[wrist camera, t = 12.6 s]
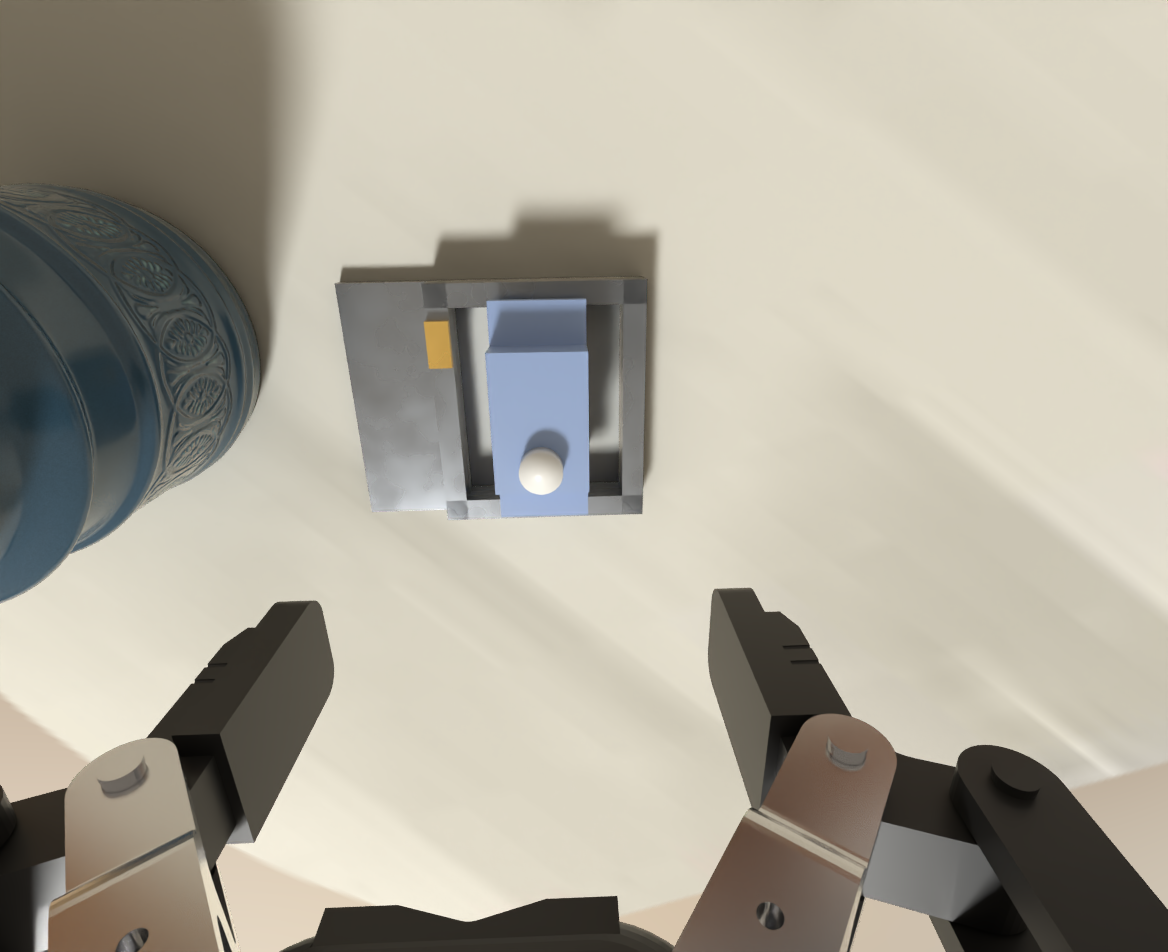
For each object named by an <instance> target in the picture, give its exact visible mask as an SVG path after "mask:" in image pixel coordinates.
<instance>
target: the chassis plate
mask: <svg viewBox="0 0 1168 952" xmlns="http://www.w3.org/2000/svg"><path fill="white" fill-rule="evenodd" d="M335 288H336V294H337V300H338V306H339V313H340V319H341V325H342V331H343V337H344V343H345V349H346V355H347V361H348V367H349V374H350V380H351V386H352V392H353V398H354V404H355V410H356V416H357V422H358V429H359V435H360V441H361V447H362V453H363V459H364V465H365V471H366V477H367V484H368V490H369V496H370V502H371V508H372V512H385V511H417V510H447V516H448V520H461V519H492V518H524V517H555V516H520V517H501V505H500V495H495V485H486V486H472V483H471V473H470V462H469V451H468V441H467V430H466V419H465V409H464V398H463V388H462V377H461V366H460V356H459V345H458V334H457V324H456V313H455V308H471V307H487V302H486V301H487V300H507V299H572V298H586V305H608V304H620V335H619V482H589V492H588V515H618V514H642V504H643V457H644V409H645V362H646V314H647V279H646V278H644V277H642V276H627V277H579V278H530V279H482V280H433V281H385V282H339V283H335ZM559 516H587V515H559Z"/></svg>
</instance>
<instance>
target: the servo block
mask: <svg viewBox="0 0 1168 952" xmlns="http://www.w3.org/2000/svg"><path fill="white" fill-rule="evenodd" d="M486 302H487V316H488V331H489V345H490V346H489V348H488V350H487V351H486V353H485V356H486V370H487V384H488V398H489V412H490V426H491V440H492V454H493V468H494V481H495V495H500V505H501V517H520V516H559V515H588V492H589V390H588V349H587V339H586V298H572V299H507V300H487V301H486Z"/></svg>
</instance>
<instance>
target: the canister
mask: <svg viewBox="0 0 1168 952" xmlns="http://www.w3.org/2000/svg"><path fill="white" fill-rule="evenodd" d="M259 385H260V357H259V349H258V344H257V339H256V335H255V331H254V329H253V326H252V323H251V320H250V317H249V315H248V313H247V310H246V308H245V306H244V304H243V302H242V300H241V298H240V296H239V295H238V293H237V291H236V290H235V288H234V286H233V285H232V284H231V282H230V281H229V279H228V278H227V276H226V275H225V274H224V272H223V271H222V270H221V269H220V267H219V266H218V265H217V264H216V263H215V262H214V261H213V259H212V258H211V257H210V256H209V255H208V254H207V253H206V252H205V251H204V250H203V249H202V248H201V247H200V246H198V245H197V244H196V243H195V242H194V241H193V240H192V239H190V238H189V237H188V236H186V235H185V234H184V233H183V232H181V231H180V230H178V229H177V228H175V227H174V226H172V225H171V224H169V223H168V222H166V221H164V220H163V219H161V218H159V217H157V216H155V215H153V214H151V213H149V212H147V211H145V210H143V209H141V208H138V207H136V206H133V205H130V204H128V203H125V202H123V201H121V200H118V199H116V198H113V197H110V196H107V195H104V194H101V193H98V192H94V191H90V190H86V189H81V188H76V187H69V186H60V185H50V184H35V183H26V184H13V185H6V186H0V604H1V603H3V602H6V601H8V600H11V599H13V598H15V597H17V596H19V595H21V594H23V593H25V592H27V591H28V590H30V589H32V588H33V587H35V586H36V585H38V584H39V583H40V582H42V581H43V580H44V579H46V578H47V577H48V576H49V575H50V574H51V573H52V572H54V571H55V570H56V569H57V568H58V567H59V566H60V565H61V563H62V562H63V561H64V560H65V559H66V558H67V556H68V555H69V554H71V553H74V552H77V551H80V550H82V549H85V548H87V547H89V546H91V545H93V544H95V543H97V542H99V541H100V540H102V539H103V538H105V537H107V536H108V535H110V534H111V533H112V532H114V531H115V530H116V529H117V528H119V527H120V526H121V525H122V524H123V523H124V522H125V521H126V520H127V519H128V518H129V517H130V516H131V515H132V514H133V513H134V512H136V511H137V510H139V509H140V508H142V507H143V506H145V505H146V504H148V503H149V502H151V501H152V500H154V499H155V498H157V497H158V496H160V495H161V494H163V493H164V492H166V491H167V490H169V489H171V488H173V487H176V486H178V485H181V484H183V483H185V482H187V481H189V480H191V479H193V478H194V477H196V476H197V475H199V474H200V473H202V472H203V471H204V470H206V469H207V468H209V467H210V466H212V465H213V464H214V463H215V462H217V461H218V460H219V459H220V458H221V457H222V456H223V455H224V454H225V453H226V452H227V451H228V450H229V449H230V447H231V446H232V445H233V443H234V442H235V441H236V439H237V438H238V436H239V434H240V433H241V431H242V430H243V429H244V427H245V426H246V424H247V422H248V420H249V418H250V416H251V414H252V412H253V409H254V406H255V404H256V400H257V396H258V391H259Z"/></svg>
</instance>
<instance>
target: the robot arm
mask: <svg viewBox="0 0 1168 952" xmlns="http://www.w3.org/2000/svg"><path fill="white" fill-rule="evenodd" d="M708 663H709V672H710V678H711V682H712V685H713V689H714V692H715V695H716V698H717V701H718V704H719V707H720V710H721V713H722V716H723V720H724V723H725V726H726V729H727V732H728V735H729V738H730V741H731V744H732V747H733V750H734V754H735V757H736V760H737V763H738V766H739V769H740V772H741V775H742V778H743V781H744V785H745V788H746V791H747V794H748V797H749V800H750V803H751V806H752V808H750V809H749V810H748V811H747V812H746V813H745V815H744V816H743V818H742V820H741V822H740V824H739V826H738V827H737V829H736V831H735V833H734V835H733V837H732V839H731V841H730V843H729V844H728V846H727V848H726V850H725V852H724V854H723V856H722V858H721V860H720V862H719V863H718V865H717V867H716V869H715V871H714V873H713V875H712V877H711V879H710V880H709V882H708V884H707V886H706V888H705V890H704V892H703V894H702V896H701V898H700V899H699V901H698V903H697V905H696V907H695V909H694V911H693V913H692V915H691V917H690V919H689V920H688V922H687V924H686V926H685V928H684V930H683V932H682V934H681V936H680V937H679V939H678V941H677V943H676V945H675V947H674V946H673V945H671V944H670V943H669V942H667V941H665V940H664V939H662V938H660V937H658V936H656V935H654V934H653V933H651V932H648V931H646V930H644V929H641V928H639V927H636V926H634V925H630V924H626V923H623V922H619V912H618V899H617V896H608V897H584V898H559V899H545V900H541V901H538V902H535V903H532V904H529V905H525V906H522V907H519V908H516V909H512V910H509V911H506V912H503V913H500V914H496V915H493V916H490V917H487V918H483V919H480V920H477V921H472V922H464V921H459V920H455V919H451V918H447V917H443V916H439V915H435V914H431V913H427V912H423V911H419V910H415V909H411V908H407V907H403V906H399V905H389V906H365V907H342V908H325V911H324V914H323V916H322V919H321V923H320V925H319V928H318V931H317V934H316V936H315V937H312V938H309V939H306V940H303V941H301V942H299V943H296V944H294V945H292V946H289V947H287V948H286V949H284V950H282V951H280V952H851V950H852V946H853V942H854V939H855V935H856V932H857V928H858V924H859V921H860V917H861V914H862V911H863V907H864V904H865V900H866V897H867V898H871V899H874V900H878V901H881V902H885V903H889V904H892V905H895V906H899V907H903V908H906V909H910V910H913V911H917V912H920V913H924V914H927V915H929V917H930V919H931V921H932V923H933V926H934V927H935V930H936V932H937V934H938V936H939V938H940V940H941V942H942V945H943V947H944V949H945V951H946V952H1168V909H1167V908H1166V907H1165V906H1164V904H1163V903H1162V902H1161V901H1160V900H1159V898H1158V897H1157V896H1156V895H1155V894H1154V892H1153V891H1152V890H1151V889H1150V888H1149V886H1148V885H1147V884H1146V883H1145V881H1144V880H1143V879H1142V878H1141V877H1140V876H1139V874H1138V873H1137V872H1136V871H1135V869H1134V868H1133V867H1132V866H1131V865H1130V863H1129V862H1128V861H1127V860H1126V859H1125V857H1124V856H1123V855H1122V854H1121V853H1120V851H1119V850H1118V849H1117V848H1116V846H1115V845H1114V844H1113V843H1112V842H1111V840H1110V839H1109V838H1108V837H1107V836H1106V834H1105V833H1104V832H1103V831H1102V830H1101V828H1100V827H1099V826H1098V825H1097V824H1096V823H1095V821H1094V820H1093V819H1092V818H1091V816H1090V815H1089V814H1088V813H1087V811H1086V810H1085V809H1084V808H1083V807H1082V805H1081V804H1080V803H1079V802H1078V801H1077V799H1076V798H1075V797H1074V796H1073V795H1072V793H1071V792H1070V791H1069V790H1068V788H1067V787H1066V786H1065V785H1064V784H1063V783H1062V781H1061V780H1060V779H1059V778H1058V777H1057V776H1056V775H1055V774H1053V773H1052V772H1051V771H1050V770H1049V769H1047V768H1046V767H1044V766H1043V765H1042V764H1040V763H1038V762H1037V761H1035V760H1033V759H1032V758H1030V757H1028V756H1026V755H1024V754H1021V753H1019V752H1016V751H1014V750H1011V749H1007V748H1004V747H999V746H993V745H977V746H973V747H970V748H968V749H965V750H964V751H963V752H962V753H961V754H960V756H959V758H958V761H957V765H956V767H953V766H948V765H943V764H939V763H934V762H929V761H925V760H920V759H915V758H912V757H908V756H904V755H902V754H899V753H896V752H895V751H894V749H893V747H892V745H891V744H890V742H889V741H888V740H887V739H886V737H884V736H883V735H882V734H881V733H880V732H879V731H878V730H876V729H875V728H874V727H872V726H870V725H869V724H867V723H865V722H863V721H861V720H859V719H856V718H853V717H852V716H851V714H850V713H849V711H848V709H847V707H846V706H845V704H844V702H843V701H842V699H841V697H840V696H839V694H838V692H837V690H836V689H835V687H834V685H833V684H832V682H831V680H830V679H829V677H828V675H827V674H826V672H825V670H824V668H823V667H822V665H821V664H819V662H818V658H817V657H816V655H815V653H814V651H813V650H812V648H810V645H809V643H808V641H807V640H806V638H805V636H804V635H803V633H802V631H801V629H800V628H799V626H797V625H796V624H795V623H793V622H792V621H791V620H790V619H788V618H787V617H786V616H785V615H783V614H782V613H781V612H764V610H763V608H762V606H761V604H760V602H759V600H758V598H757V596H756V595H755V593H754V591H753V589H752V588H729V589H714V591H713V594H712V603H711V617H710V632H709V646H708ZM333 679H334V663H333V658H332V653H331V649H330V644H329V639H328V635H327V630H326V625H325V620H324V616H323V611H322V608H321V606H320V604H319V603H318V602H317V601H289V602H277V603H275V604H274V605H273V606H272V607H271V608H270V610H269V611H268V612H267V614H266V615H265V616H264V617H263V619H262V620H261V621H260V623H259V624H258V625H257V626H256V628H247V629H246V630H244V631H243V632H241V633H240V634H238V635H237V636H235V637H234V638H233V639H231V640H230V641H228V642H227V643H225V644H224V645H223V646H222V647H221V649H220V650H219V651H218V652H217V653H216V655H215V656H214V657H213V658H212V659H211V661H210V662H209V663H208V667H207V668H204V669H203V670H202V671H201V673H200V674H199V675H198V676H197V678H196V679H195V683H194V684H191V685H190V686H189V687H188V688H187V690H186V691H185V692H184V693H183V694H182V696H181V697H180V698H179V699H178V701H177V702H176V703H175V704H174V705H173V707H172V708H171V709H170V710H169V711H168V713H167V714H166V715H165V716H164V717H163V719H162V720H161V721H160V722H159V723H158V725H157V726H156V727H155V728H154V730H153V731H152V732H151V733H150V734H149V736H148V737H147V738H146V739H140V740H136V741H132V742H129V743H126V744H123V745H121V746H118V747H116V748H114V749H112V750H110V751H108V752H106V753H104V754H103V755H101V756H99V757H98V758H96V759H95V760H93V761H92V762H91V763H89V764H88V765H87V766H86V767H84V768H83V769H82V770H81V771H80V772H79V773H78V774H77V775H76V777H75V778H74V779H73V780H72V782H71V783H70V785H69V786H68V788H65V789H61V790H57V791H54V792H50V793H46V794H42V795H39V796H35V797H31V798H28V799H24V800H20V801H17V802H12V803H10V802H9V800H8V798H7V796H6V794H5V792H4V790H3V788H2V786H1V785H0V952H241V951H240V947H239V943H238V939H237V935H236V931H235V927H234V923H233V919H232V916H231V912H230V908H229V904H228V900H227V896H226V892H225V889H224V884H223V880H222V877H221V873H220V870H219V867H218V864H217V859H218V857H219V855H220V854H221V852H222V850H223V848H224V846H225V845H226V844H236V843H254V842H255V840H256V838H257V836H258V834H259V832H260V830H261V828H262V826H263V824H264V822H265V820H266V819H267V817H268V815H269V813H270V811H271V809H272V807H273V805H274V803H275V801H276V799H277V797H278V795H279V793H280V791H281V789H282V787H283V785H284V783H285V781H286V779H287V777H288V775H289V773H290V771H291V769H292V767H293V766H294V764H295V762H296V760H297V758H298V756H299V754H300V752H301V750H302V748H303V746H304V744H305V742H306V740H307V738H308V736H309V734H310V732H311V730H312V728H313V726H314V724H315V722H316V720H317V718H318V716H319V714H320V713H321V711H322V709H323V707H324V705H325V703H326V701H327V699H328V697H329V695H330V692H331V689H332V685H333Z"/></svg>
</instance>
